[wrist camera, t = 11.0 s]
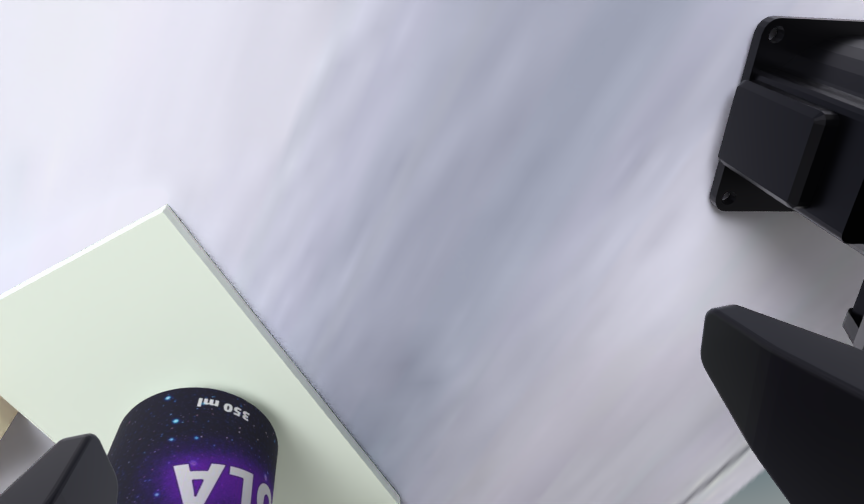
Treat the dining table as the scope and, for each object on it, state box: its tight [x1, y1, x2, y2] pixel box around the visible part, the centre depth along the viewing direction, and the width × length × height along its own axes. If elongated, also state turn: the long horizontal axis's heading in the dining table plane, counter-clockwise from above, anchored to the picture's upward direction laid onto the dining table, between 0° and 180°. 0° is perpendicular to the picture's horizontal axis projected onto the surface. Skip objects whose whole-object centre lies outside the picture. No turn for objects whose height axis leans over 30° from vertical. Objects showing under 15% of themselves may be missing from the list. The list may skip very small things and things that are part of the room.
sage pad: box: [0, 204, 400, 504], centre depth 25 cm, size 9×16×1 cm, turn 27°
